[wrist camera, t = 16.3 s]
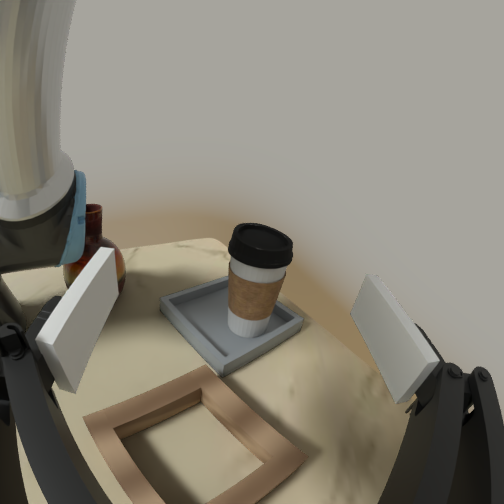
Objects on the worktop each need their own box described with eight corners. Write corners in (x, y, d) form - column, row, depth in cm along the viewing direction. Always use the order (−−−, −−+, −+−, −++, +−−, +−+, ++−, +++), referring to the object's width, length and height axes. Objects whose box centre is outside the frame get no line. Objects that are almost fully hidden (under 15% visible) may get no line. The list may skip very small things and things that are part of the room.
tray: (160, 310, 43) (159, 297, 41) (235, 283, 53) (236, 272, 52) (222, 377, 33) (223, 365, 32) (300, 330, 44) (303, 318, 42)
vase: (137, 284, 48) (136, 202, 41) (109, 321, 38) (98, 226, 31) (88, 271, 48) (83, 194, 41) (56, 303, 38) (41, 215, 31)
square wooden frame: (90, 429, 21) (82, 417, 20) (204, 379, 32) (205, 364, 31) (176, 551, 12) (173, 551, 10) (300, 466, 22) (308, 456, 21)
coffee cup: (243, 301, 47) (257, 217, 41) (284, 326, 43) (308, 238, 36) (207, 322, 41) (216, 229, 34) (251, 353, 37) (271, 255, 30)
